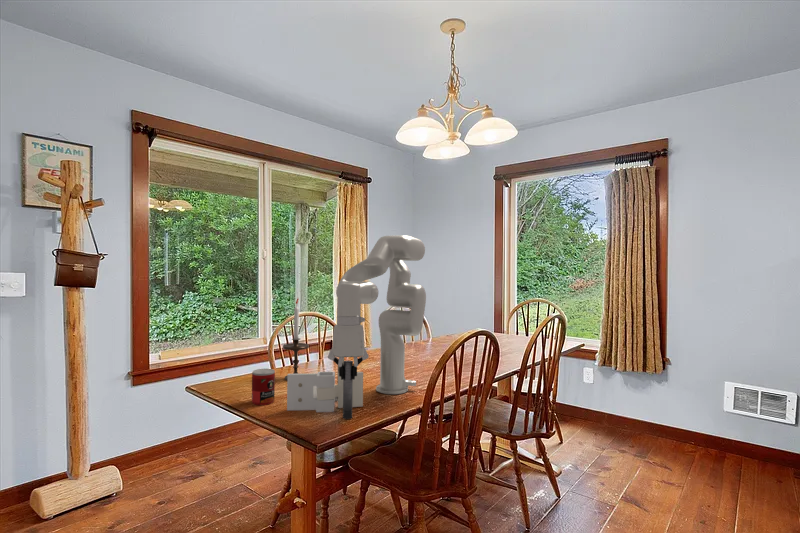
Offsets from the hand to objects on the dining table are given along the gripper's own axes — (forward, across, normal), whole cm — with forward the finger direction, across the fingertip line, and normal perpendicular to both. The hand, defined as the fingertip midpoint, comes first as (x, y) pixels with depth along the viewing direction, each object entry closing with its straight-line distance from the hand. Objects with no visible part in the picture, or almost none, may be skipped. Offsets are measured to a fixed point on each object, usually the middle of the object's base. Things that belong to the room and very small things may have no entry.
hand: (348, 377), depth 136 cm
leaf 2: (+13, +3, -9) cm, 16 cm away
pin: (+13, 0, 0) cm, 13 cm away
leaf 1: (+13, +12, -9) cm, 20 cm away
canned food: (+13, +30, -18) cm, 37 cm away
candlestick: (+13, +23, -49) cm, 56 cm away
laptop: (+14, +9, -27) cm, 31 cm away
